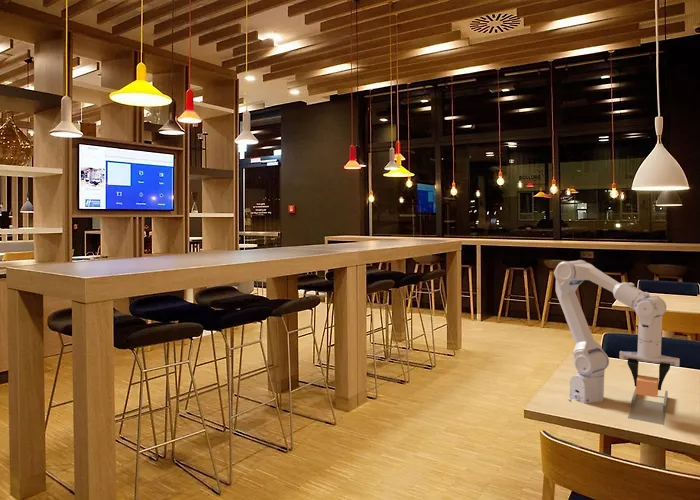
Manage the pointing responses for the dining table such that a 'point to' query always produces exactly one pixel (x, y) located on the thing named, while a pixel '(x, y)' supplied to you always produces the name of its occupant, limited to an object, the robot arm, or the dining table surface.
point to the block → (647, 386)
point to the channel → (648, 409)
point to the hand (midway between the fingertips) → (647, 387)
